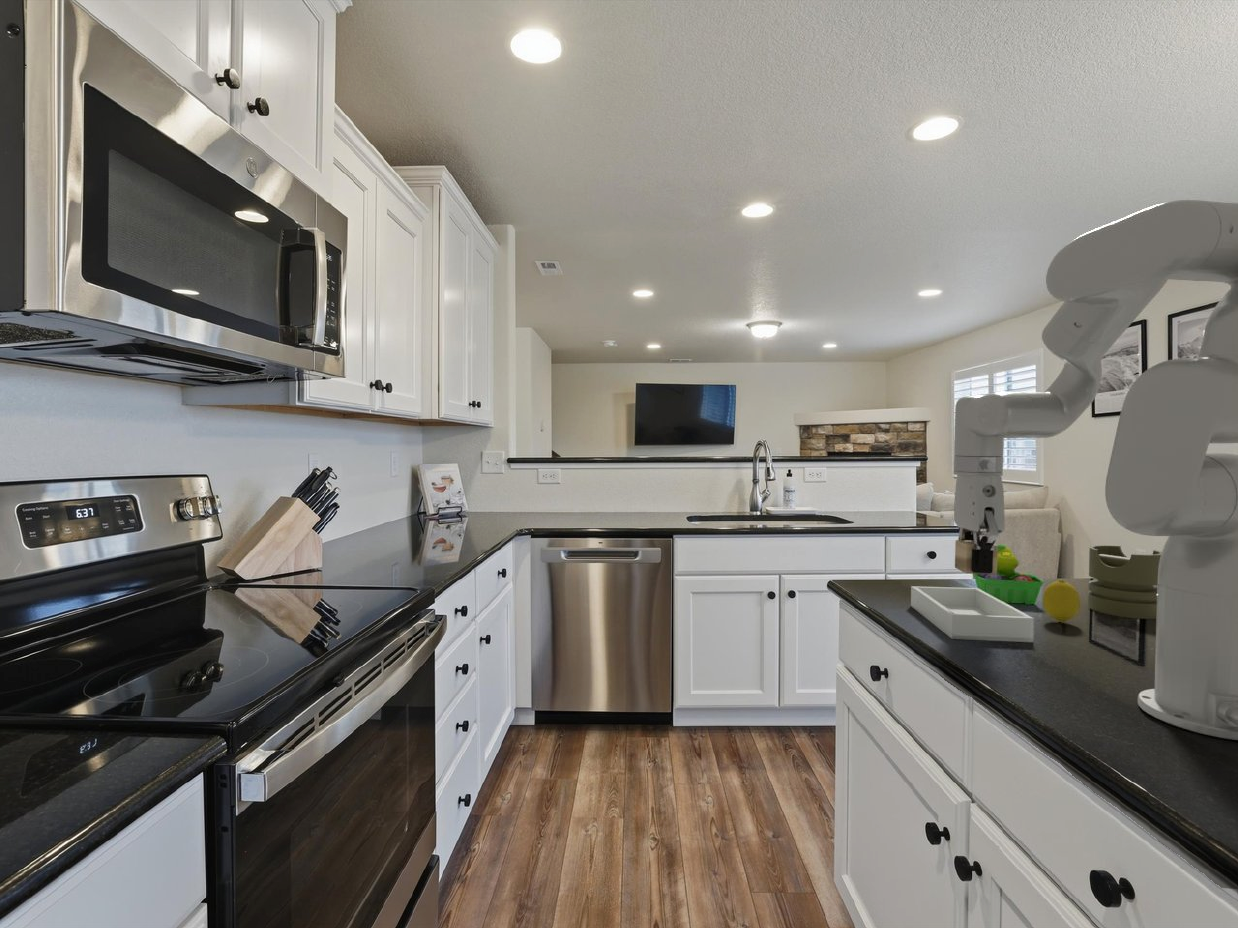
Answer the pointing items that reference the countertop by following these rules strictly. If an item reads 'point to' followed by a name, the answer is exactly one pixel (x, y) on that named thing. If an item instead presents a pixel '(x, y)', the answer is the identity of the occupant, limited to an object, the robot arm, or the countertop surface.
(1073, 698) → the countertop surface
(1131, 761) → the countertop surface
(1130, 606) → the piston
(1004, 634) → the tray
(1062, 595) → the lemon
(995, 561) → the cube
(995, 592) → the fruit basket
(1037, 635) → the countertop surface
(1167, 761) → the countertop surface
